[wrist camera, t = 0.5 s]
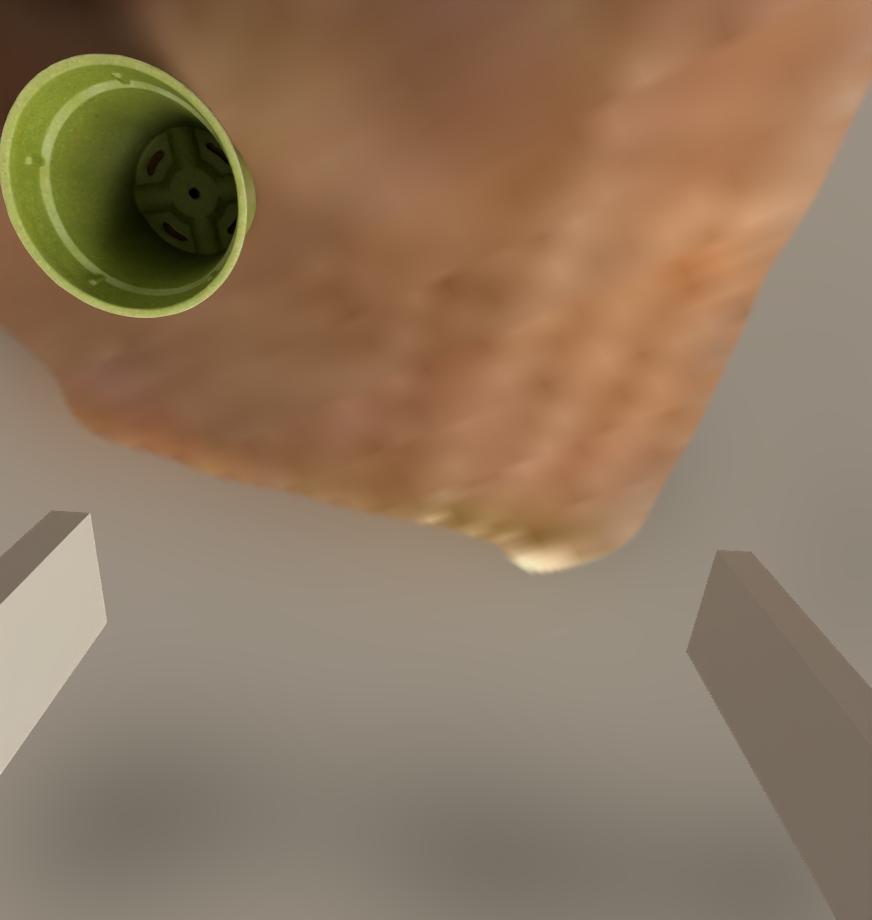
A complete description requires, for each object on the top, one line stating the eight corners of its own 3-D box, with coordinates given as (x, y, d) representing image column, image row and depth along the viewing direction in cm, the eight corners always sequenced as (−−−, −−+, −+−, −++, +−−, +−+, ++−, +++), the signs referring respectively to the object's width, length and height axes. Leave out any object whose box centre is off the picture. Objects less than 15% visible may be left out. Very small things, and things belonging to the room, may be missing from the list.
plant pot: (70, 215, 33) (-40, 226, 25) (151, 40, 30) (55, -10, 22) (233, 320, 35) (179, 361, 27) (322, 168, 32) (291, 164, 24)
